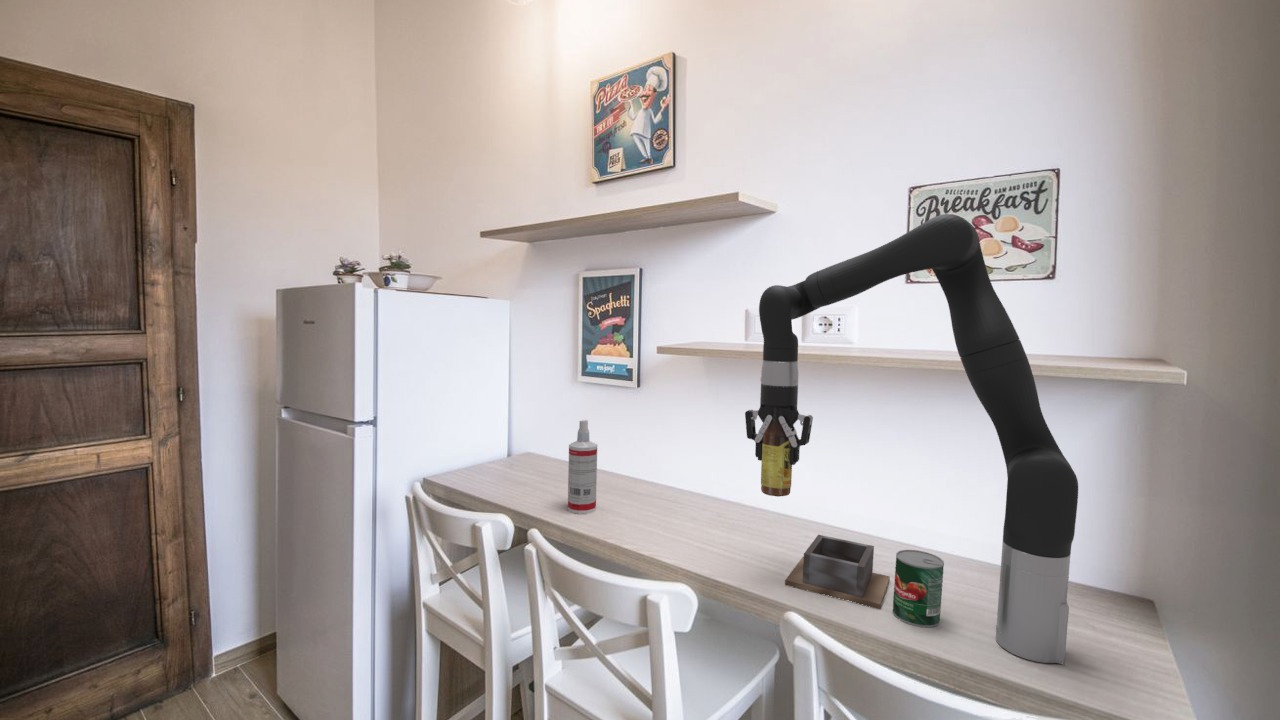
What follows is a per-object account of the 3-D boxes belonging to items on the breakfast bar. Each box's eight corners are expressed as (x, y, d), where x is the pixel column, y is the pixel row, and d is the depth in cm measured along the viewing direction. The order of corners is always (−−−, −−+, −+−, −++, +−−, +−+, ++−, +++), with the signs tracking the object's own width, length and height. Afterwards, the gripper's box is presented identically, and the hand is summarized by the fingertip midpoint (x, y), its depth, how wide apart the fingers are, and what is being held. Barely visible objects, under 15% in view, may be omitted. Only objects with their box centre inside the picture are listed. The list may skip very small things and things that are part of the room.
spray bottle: (592, 514, 154) (594, 423, 153) (565, 513, 155) (567, 422, 153) (597, 505, 162) (599, 418, 160) (571, 504, 163) (573, 417, 161)
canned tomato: (886, 617, 104) (890, 558, 103) (899, 601, 110) (902, 545, 110) (934, 632, 99) (938, 571, 98) (944, 615, 105) (948, 557, 104)
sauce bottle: (789, 499, 116) (793, 402, 115) (758, 495, 118) (761, 400, 117) (792, 490, 122) (795, 398, 121) (762, 487, 124) (766, 396, 123)
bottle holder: (889, 581, 119) (891, 548, 118) (880, 609, 107) (882, 573, 106) (802, 560, 128) (804, 530, 127) (784, 584, 116) (786, 551, 115)
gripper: (818, 383, 118) (815, 463, 119) (752, 379, 126) (749, 454, 127) (809, 386, 112) (806, 470, 113) (740, 381, 119) (737, 460, 120)
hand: (776, 461), depth 120 cm, fingers closed on sauce bottle, 6 cm apart
